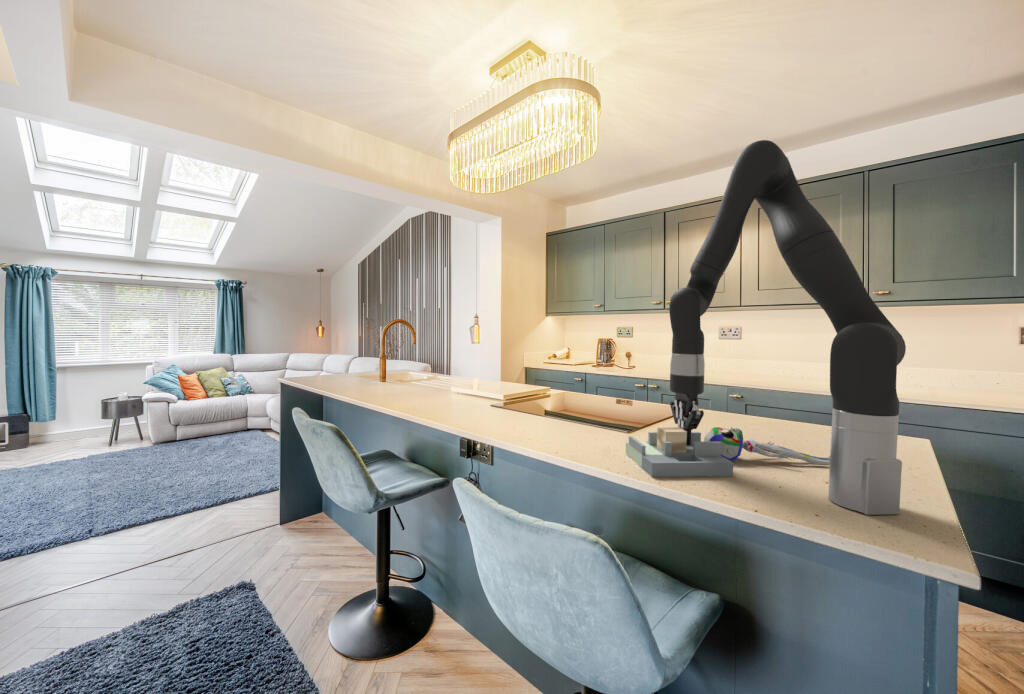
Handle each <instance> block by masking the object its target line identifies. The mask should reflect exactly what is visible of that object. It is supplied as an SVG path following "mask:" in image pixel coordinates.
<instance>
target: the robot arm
mask: <svg viewBox="0 0 1024 694" xmlns="http://www.w3.org/2000/svg"><path fill="white" fill-rule="evenodd" d="M754 201H756V202H757V203H758V204H759V206H760V208H761V209H762V210H763V212H764V213H765V214H766V216H767V218H768V220H769V222H770V225H771V229H772V232H773V233H772V234H773V236H774V240H775V242H776V246H777V248H778V251H779V252H780V254H781V257H782V259H783V260H784V262H785V264H786V266H787V268H788V269H789V271H790V273H791V274H792V276H793V277H794V279H795V280H796V281H797V282H798V284H799V285H800V286H801V287H802V289H803V290H805V292H806V293H807V294H808V295H809V296H810V297H811V298H812V299H813V301H815V302H816V303H817V304H818V305H819V306H820V307H821V309H823V311H824V312H825V314H826V316H827V317H828V318H829V321H830V322H831V324H832V326H833V328H834V331H835V333H836V335H835V336H834V338H833V339H832V342H831V348H830V355H829V356H830V357H829V391H830V395H831V398H832V416H831V430H830V431H831V432H830V434H831V436H830V454H829V456H830V465H829V474H828V496H827V497H828V499H829V501H831V502H832V503H834V504H836V505H838V506H841V507H843V508H846V509H849V510H853V511H856V512H858V513H859V512H860V513H862V514H863V515H867V516H869V515H871V516H872V515H900V506H901V492H902V491H901V489H902V469H903V468H902V467H903V462H902V460H901V459H899V458H897V451H898V435H899V434H898V431H899V420H900V419H899V418H900V415H899V414H900V400H899V397H898V393H897V375H898V374H897V372H898V368H897V367H898V366H899V364H900V363H902V361H903V360H904V358H905V355H906V349H907V347H906V342H905V339H904V338H903V336H902V334H901V333H900V332H899V330H898V329H897V328H896V327H895V326H894V325H893V324H892V322H890V320H889V319H888V317H886V316H885V314H884V312H883V311H881V309H880V308H879V306H878V305H877V304H876V303H875V301H874V300H873V298H872V297H871V296H870V294H869V292H868V290H867V289H866V287H865V285H864V283H863V281H862V278H861V277H860V275H859V272H858V271H857V269H856V267H855V265H854V264H853V261H852V260H851V258H850V257H849V255H848V253H847V251H846V248H844V246H843V244H842V242H841V240H840V239H839V238H838V236H837V235H836V233H835V232H834V230H833V228H832V227H831V226H830V225H829V223H828V222H827V221H826V219H825V218H824V216H822V214H821V213H820V212H819V211H818V210H817V209H816V208H815V206H814V205H813V204H811V202H809V200H808V198H807V197H806V195H805V194H804V192H803V190H802V188H801V186H800V184H799V182H798V180H797V178H796V176H795V173H794V170H793V167H792V165H791V162H790V160H789V157H787V156H786V154H785V153H784V152H783V150H782V148H780V146H779V145H777V144H776V143H775V142H773V141H771V140H768V139H767V140H766V139H761V140H757V141H754V142H752V143H750V144H748V145H747V146H746V147H745V148H744V149H742V151H740V153H739V154H738V156H737V158H736V160H735V161H734V165H733V167H732V169H731V172H730V174H729V178H728V181H727V184H726V187H725V191H724V193H723V196H722V198H721V201H720V204H719V207H718V209H717V211H716V214H715V217H714V219H713V222H712V224H711V226H710V229H709V230H708V233H707V235H706V237H705V238H704V241H703V243H702V245H701V246H700V248H699V250H698V253H697V255H696V256H695V258H694V260H693V262H692V263H691V267H690V270H689V273H690V278H689V280H688V283H687V285H686V287H681V288H679V289H678V290H676V291H674V293H673V294H672V295H671V298H670V302H669V307H668V309H669V319H670V326H671V332H672V338H671V339H672V340H671V341H672V342H671V343H672V345H671V358H670V365H669V366H670V371H669V373H670V374H669V391H670V392H671V393H674V394H675V395H674V400H673V401H670V402H669V405H670V406H669V407H670V409H671V413H672V417H673V420H674V424H675V425H677V427H678V428H681V429H682V430H685V431H687V445H686V446H689V445H690V444H691V432H692V431H693V430H697V428H698V427H699V424H700V422H701V421H702V419H703V417H704V415H705V412H704V410H700V409H699V398H698V395H699V396H700V395H701V394H704V392H705V370H706V369H705V365H706V364H705V363H706V362H705V335H704V332H703V330H702V329H701V317H702V316H703V315H704V314H705V313H706V312H707V310H708V309H709V307H710V305H711V303H712V301H713V299H714V297H715V293H716V291H717V288H718V285H719V283H720V280H721V278H722V277H723V275H724V274H725V271H726V270H727V268H728V266H729V264H730V262H731V260H732V259H733V256H734V255H735V253H736V250H737V249H738V248H737V247H738V245H739V241H740V238H741V234H742V231H743V227H744V225H745V220H746V218H747V216H748V212H750V211H749V210H750V208H751V206H752V204H753V203H754Z"/></svg>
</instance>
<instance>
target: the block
mask: <svg viewBox="0 0 1024 694" xmlns="http://www.w3.org/2000/svg"><path fill="white" fill-rule="evenodd" d="M656 432H657V447H658V448H659V449H661V450H662V451H663V446H664V442H671V443H672V453H686V445H687V431H685V430H682V429H681V428H678V426H657V427H656Z"/></svg>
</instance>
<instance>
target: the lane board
mask: <svg viewBox="0 0 1024 694" xmlns="http://www.w3.org/2000/svg"><path fill="white" fill-rule="evenodd" d="M625 454H626V455H627V457H629V458H630V457H631V458H632V459H633V460H632V459H631V458H630V459H631V460H632V461H633V462H635V463H636V465H638V466H639V467H640V468H641V469H642V470H643V471H645V472H646V473H647V475H649V477H651V478H672V477H673V478H675V477H676V478H678V477H679V478H683V477H684V478H686V477H689V478H690V477H691V478H692V476H708V477H734V462H733V461H729V460H728V459H726V458H724V457H722V456H721V442H703V441H702V432H700V431H691V444H690V445H689V446H686V453H672V443H671V442H664V446H663V451H662V450H661V449H659V448H658V447H657V431H648V439H647V441H640V440H638V439H637V438H636V437H634V436H633V435H628V441H625Z"/></svg>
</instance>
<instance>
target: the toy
mask: <svg viewBox="0 0 1024 694" xmlns="http://www.w3.org/2000/svg"><path fill="white" fill-rule="evenodd" d="M725 430H727V431H725ZM722 431H723V432H722ZM724 431H725V432H724ZM704 435H705V436H704V439H703V441H702V442H721V456H722V457H724V458H726V459H728V460H729V461H731V462H733V461H736V460H737V459H738V458H739V457H741V453H742V449H743V450H745V451H747V452H749V453H756V454H758V455H761V456H765V457H769V458H778V459H787V460H790V461H792V460H796V459H797V460H801V461H805V462H806V463H809V464H811V465H816V466H817V465H818V466H830V455H829V456H828V457H819V456H813V455H810V454H807V453H802V452H799V451H795V450H793V449H790V448H787V447H784V446H779V445H776V444H775V443H774V442H773V443H771V441H768V442H767V443H765V442H761V441H755V440H753V439H749V440H744V435H743V431H742V429H740V428H737V427H735V428H734V427H732V426H731V428H726V427H719V426H716V427H715V426H714V427H713V428H711V429H710V430H709V431H708V432H707V433H705V434H704Z"/></svg>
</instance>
